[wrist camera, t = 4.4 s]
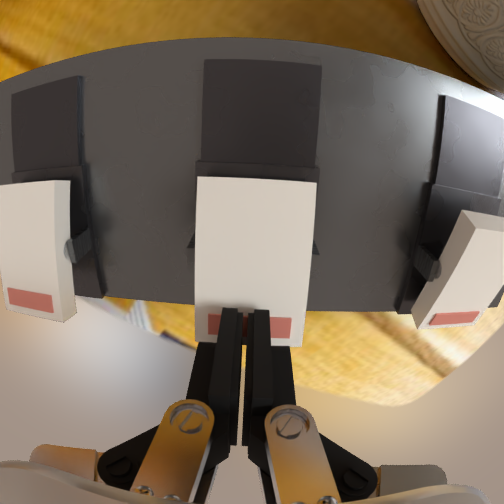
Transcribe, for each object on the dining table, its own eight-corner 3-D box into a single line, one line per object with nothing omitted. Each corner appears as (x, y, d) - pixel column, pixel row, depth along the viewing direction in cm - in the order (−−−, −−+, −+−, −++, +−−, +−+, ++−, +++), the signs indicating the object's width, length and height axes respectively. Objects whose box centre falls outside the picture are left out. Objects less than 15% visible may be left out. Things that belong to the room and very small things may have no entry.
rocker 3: (516, 217, 10) (533, 238, 9) (465, 305, 14) (474, 326, 13) (459, 206, 10) (477, 229, 9) (409, 307, 14) (417, 331, 13)
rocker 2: (309, 184, 11) (317, 183, 10) (297, 331, 12) (301, 348, 11) (204, 178, 11) (196, 176, 10) (201, 326, 12) (194, 342, 11)
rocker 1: (72, 180, 11) (53, 180, 10) (78, 311, 12) (62, 323, 11) (14, 185, 11) (-5, 185, 10) (22, 300, 12) (5, 310, 11)
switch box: (539, 136, 14) (601, 157, 8) (507, 271, 19) (554, 317, 13) (26, 89, 14) (-48, 96, 8) (42, 248, 19) (-14, 296, 13)
